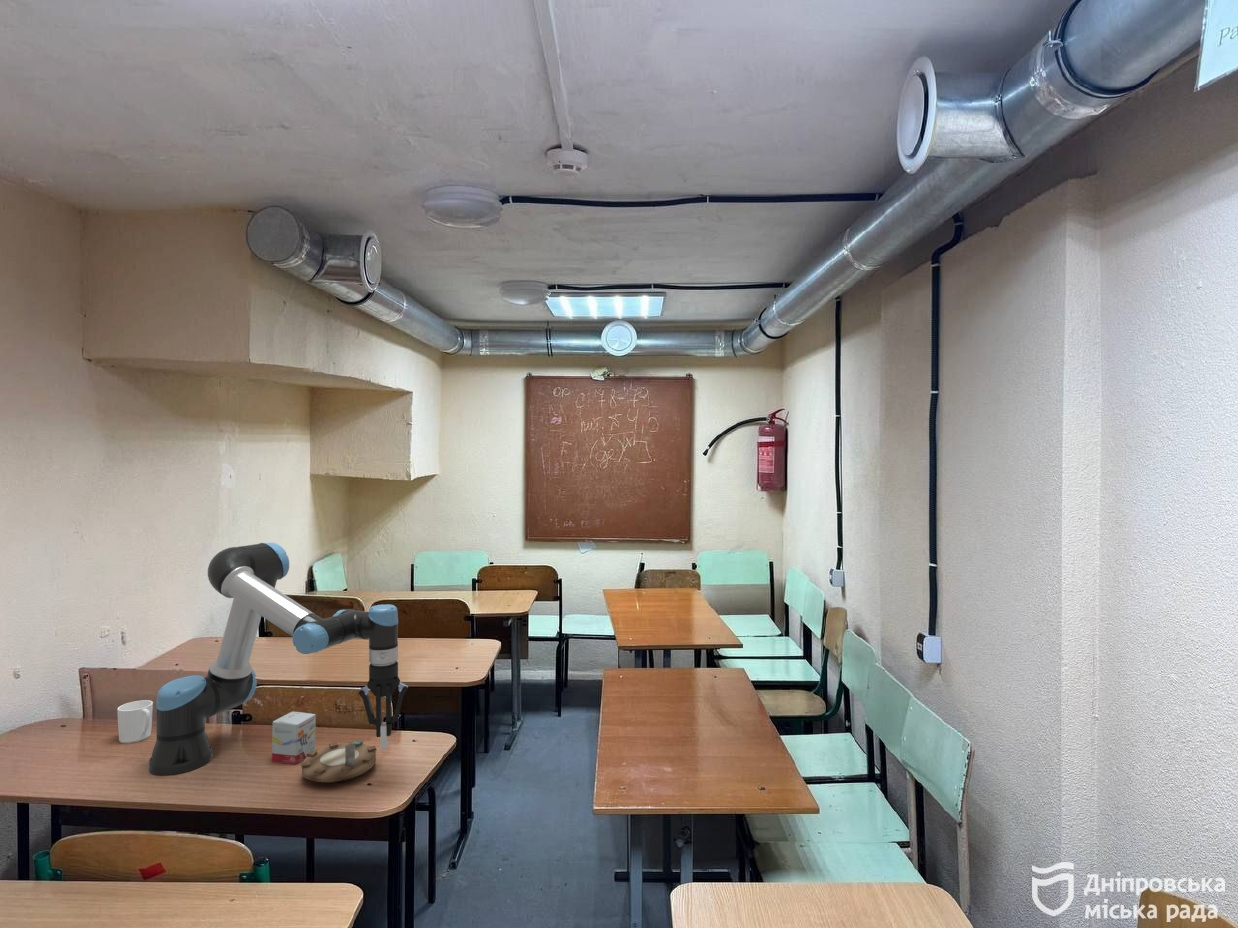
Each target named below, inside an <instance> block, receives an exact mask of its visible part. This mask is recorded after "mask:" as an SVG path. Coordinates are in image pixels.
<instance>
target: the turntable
mask: <svg viewBox="0 0 1238 928" xmlns="http://www.w3.org/2000/svg"><path fill="white" fill-rule="evenodd" d="M376 752H377V746H376V745H372V746H370V745H367V744H364V740H355V741H354V742H351V743H341V744H339V743H338V742H337V741H334V742H330V743H329V744H328V746H327V747H324V748H320V749H319V750H315V751H310V752H308V753H307V757H306V758H305V759H304V760H302V762H300V767H301V775H302V776H303V777H304V778H305V779H307V780H309V781H312V782H317V783H324V782H335V781H341V780H346V779H349V778H352V779H354V778H356V777H358V776H361V775H362V774H364V773H366V772H368V771H369V770H370V769H372V768H373V766H375V763H376V761H377V753H376ZM353 777H354V778H353Z"/></svg>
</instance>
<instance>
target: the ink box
mask: <svg viewBox="0 0 1238 928" xmlns="http://www.w3.org/2000/svg"><path fill="white" fill-rule="evenodd" d="M316 720H317V714H316V713H311V712H310V713H309V712H301V711H290V712H288V713H287V714H284V715H283V716H281V717H279V718H277V719H275V720H273V721H272V725H271V726H272V733H271V735H272V736H271V738H272V739H271V762H272V763H280V764H290V765H298V764H299V763H302V762H303V761H304V759H305V758H306V757H307V753H308V752H310V751H316V726H317V725H316Z"/></svg>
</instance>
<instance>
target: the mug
mask: <svg viewBox="0 0 1238 928" xmlns="http://www.w3.org/2000/svg"><path fill="white" fill-rule="evenodd" d="M153 707H154V701H152V700H149V699H148V700H147V699H143V700H136V701H135V700H134V701H130V702H126V703H124V704H122V705H120V706H118V707H117V708H116V709H117V711H116V712H117V726H118V728H117V730H118V742H119V743H120V744H122V745H123V744H125V745H126V744H127V745H128V744H135V743H139V742H142V741H146V740H147V739H149V738H150V737H151V736H152V725H153V709H154V708H153Z"/></svg>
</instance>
